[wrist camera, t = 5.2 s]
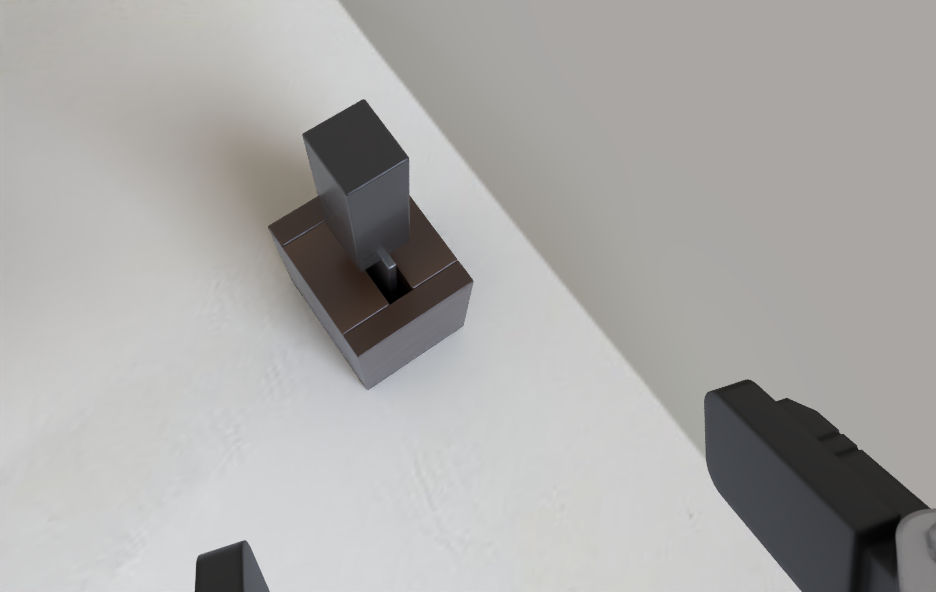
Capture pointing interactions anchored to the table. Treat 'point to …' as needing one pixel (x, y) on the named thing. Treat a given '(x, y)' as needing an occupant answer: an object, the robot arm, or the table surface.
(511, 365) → the table surface
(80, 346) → the table surface
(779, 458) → the robot arm
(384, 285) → the knife
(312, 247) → the knife block
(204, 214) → the table surface
